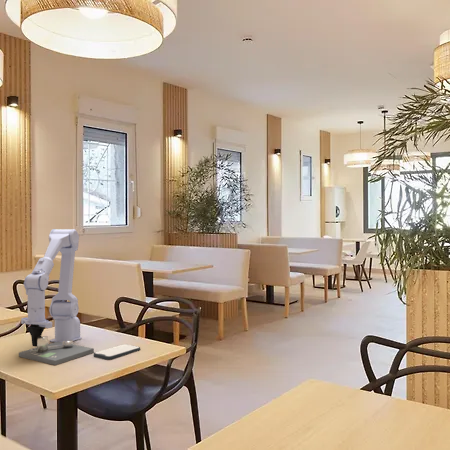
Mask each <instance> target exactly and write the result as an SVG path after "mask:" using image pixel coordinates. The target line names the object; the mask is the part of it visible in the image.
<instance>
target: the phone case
mask: <svg viewBox="0 0 450 450" xmlns="http://www.w3.org/2000/svg"><path fill="white" fill-rule="evenodd" d="M139 351H141V346H136V345H133V344H128V343H126V344H120V345H115V346H113V347H109V348H105V349H103V350H99V351H96V352H94V353H93V357H94V358H97V359H102V360H106V361H111V360H114V359H118V358H121V357H124V356H127V355H129V354H132V353H135V352H139Z"/></svg>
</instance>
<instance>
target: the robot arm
mask: <svg viewBox="0 0 450 450" xmlns="http://www.w3.org/2000/svg"><path fill="white" fill-rule="evenodd" d="M79 240H80V234H79V233H78V230H76V228H72V229H71V228H70V229H69V228H67V229H65V228H62V229H60V228H58V229H56V228H53V229H51V230H50V232H49V235H48V242H49V243H48V246H47V248H46V251H45V253H44V256H43V257H40V258H39V259H38V261H37V263H36V264H35V266H34V268H33V269H32V272H30V273H29V274H27V276H26V277H25V278H24V282H23V286H24V289H25V294H26V296H27V317H21V319H20V323H21V324H23V325H24V324H25V325H29V326H27V331H28V333H29V334H30V337H31V346H32V347H33V348H37V337H40V336H43V332H44V330H45V329H51V328H53V321H49V320H48V319H46V297H45V296H46V290H47V288H48V286H49V280H50V274H51V272H52V270H53V268H54V265H55V263H54V260H55V259H56V257H57V255H58V254H59V253H61V259H60V270H59V280H58V291H57V293H56V294H55V295H54V296H53V297H52V298H51V303H50V305H49V307H48V308H49V314H50V316H51V317H52V320H54V338H52V339H49V341H50V342H51V343H55V342H63V341H64V340H73V342H74V341H77V340H81V339H83V337H82V336H81V321H80V319H79V317H77V315H78V313H79V310H80V309H79V299H78V297H77V296H76V295H75V294H73V281H74V268H75V257H76V251H78V249H79V242H80V241H79ZM21 324H20V325H21Z"/></svg>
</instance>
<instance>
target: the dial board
mask: <svg viewBox="0 0 450 450" xmlns="http://www.w3.org/2000/svg"><path fill="white" fill-rule="evenodd" d="M62 344H63V342H51V343H48V347H49V346H55V345H62ZM31 349H37V347H33V348H30V349H26V350H22V351H19V352H18V357H20V358H24V359H28V360H32V361H36V362H39V363H45V364H48V365H54V366H57V365H60V364H64V363H66V362H69V361H72V360H76V359H78V358H81V357H85V356H87V355H91V354H94V353H95V352H94V351H95V348H93V347H88V346H85V345H84V346H83V345H78V344H73V346H72V347H61V348H55V349H49V350H47V351H43V352H39V351H37V352H31Z"/></svg>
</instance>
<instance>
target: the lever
mask: <svg viewBox="0 0 450 450" xmlns="http://www.w3.org/2000/svg"><path fill="white" fill-rule="evenodd" d="M48 344H49V336H47V335H41V336H40V337H37V347H36V348H37V349H33V348H30V349H31V352H37V351H39V352H43V351H47V350H49V349H55V348H61V347H72V346H73V345H74V341H73V340H64V341H63V344H62V345H55V346H49V347H48Z"/></svg>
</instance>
